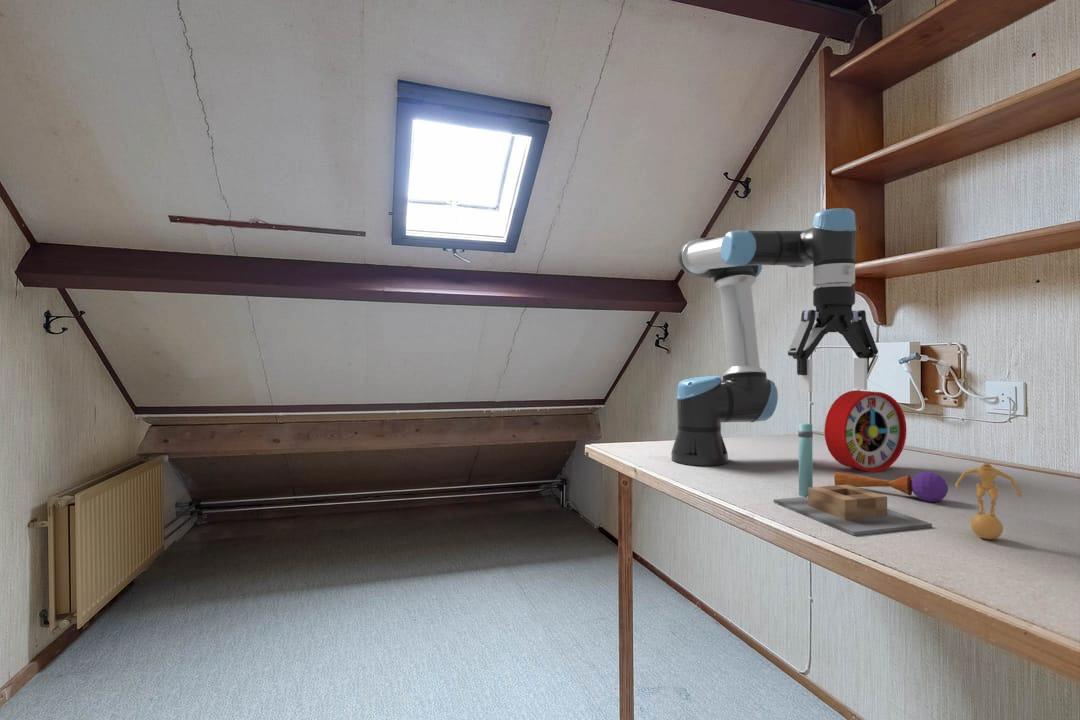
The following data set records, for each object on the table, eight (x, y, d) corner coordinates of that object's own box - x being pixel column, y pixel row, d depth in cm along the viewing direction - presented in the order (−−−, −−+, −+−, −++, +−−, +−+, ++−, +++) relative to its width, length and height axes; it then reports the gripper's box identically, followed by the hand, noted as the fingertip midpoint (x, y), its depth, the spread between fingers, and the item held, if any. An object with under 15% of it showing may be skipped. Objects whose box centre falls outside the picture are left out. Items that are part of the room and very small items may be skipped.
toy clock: (843, 475, 129) (843, 393, 128) (824, 470, 134) (824, 391, 134) (906, 469, 134) (906, 390, 134) (885, 464, 140) (885, 389, 140)
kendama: (841, 466, 122) (949, 473, 107) (841, 493, 120) (951, 503, 106) (831, 465, 118) (943, 472, 103) (832, 493, 117) (945, 504, 102)
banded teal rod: (795, 493, 113) (795, 423, 113) (806, 492, 113) (806, 422, 113) (804, 497, 110) (804, 425, 110) (815, 496, 111) (815, 424, 111)
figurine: (952, 536, 86) (952, 462, 86) (956, 526, 91) (956, 457, 91) (1021, 548, 81) (1021, 469, 81) (1021, 537, 85) (1021, 463, 85)
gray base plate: (773, 502, 107) (773, 482, 106) (840, 496, 110) (840, 476, 110) (853, 535, 87) (853, 510, 87) (931, 527, 91) (931, 503, 91)
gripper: (795, 283, 101) (795, 394, 102) (898, 285, 108) (898, 389, 108) (769, 287, 109) (769, 390, 109) (867, 289, 115) (866, 387, 116)
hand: (833, 390), depth 109 cm, fingers open, 13 cm apart
